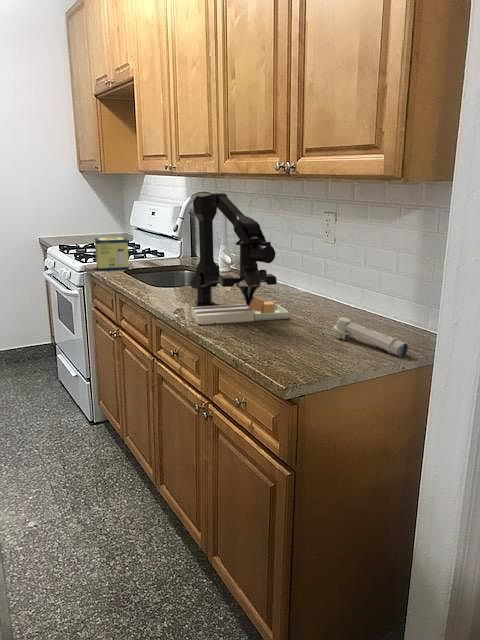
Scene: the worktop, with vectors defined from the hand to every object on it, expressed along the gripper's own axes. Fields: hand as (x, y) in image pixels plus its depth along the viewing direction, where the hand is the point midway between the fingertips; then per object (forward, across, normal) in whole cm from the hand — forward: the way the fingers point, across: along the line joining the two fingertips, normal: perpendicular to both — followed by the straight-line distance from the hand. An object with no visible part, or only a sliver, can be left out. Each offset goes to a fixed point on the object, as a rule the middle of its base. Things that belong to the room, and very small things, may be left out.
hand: (247, 305), depth 188 cm
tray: (+4, +7, 0) cm, 8 cm away
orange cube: (+2, +5, 0) cm, 5 cm away
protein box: (+4, -41, +110) cm, 117 cm away
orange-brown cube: (+1, +2, 0) cm, 2 cm away
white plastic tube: (+5, +25, -39) cm, 47 cm away
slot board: (+4, -9, 0) cm, 10 cm away
